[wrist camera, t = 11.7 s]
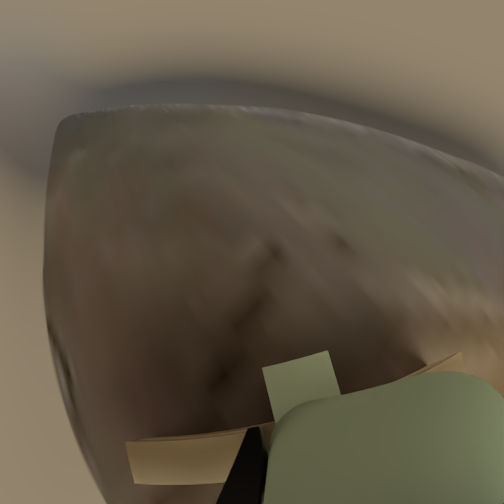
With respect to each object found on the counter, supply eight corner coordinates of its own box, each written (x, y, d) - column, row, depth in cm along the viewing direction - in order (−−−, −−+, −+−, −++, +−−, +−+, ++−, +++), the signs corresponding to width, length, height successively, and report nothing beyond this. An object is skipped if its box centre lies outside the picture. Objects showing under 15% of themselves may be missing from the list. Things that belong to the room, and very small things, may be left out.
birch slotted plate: (437, 396, 13) (472, 388, 10) (162, 470, 12) (134, 483, 9) (427, 365, 14) (460, 351, 11) (155, 436, 13) (124, 441, 10)
